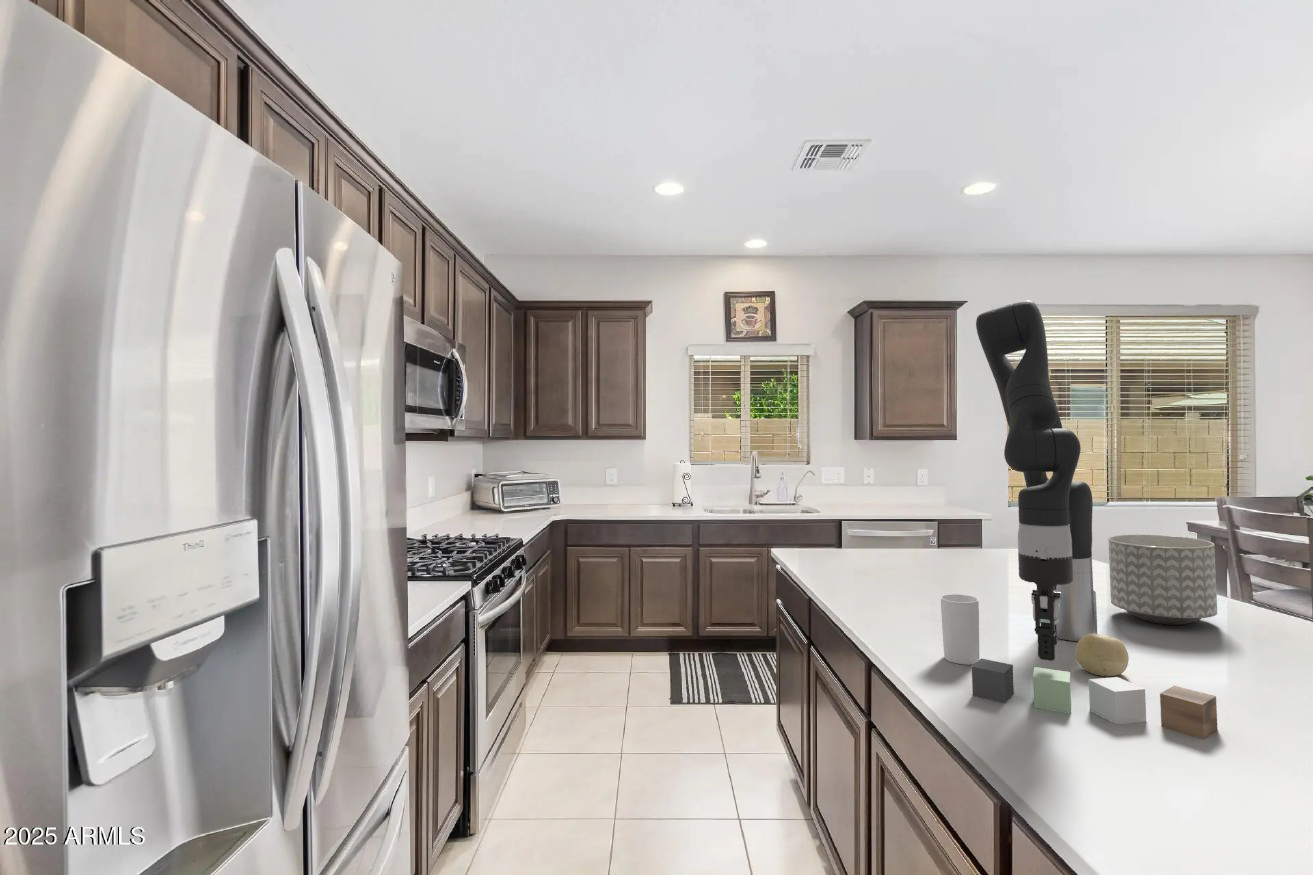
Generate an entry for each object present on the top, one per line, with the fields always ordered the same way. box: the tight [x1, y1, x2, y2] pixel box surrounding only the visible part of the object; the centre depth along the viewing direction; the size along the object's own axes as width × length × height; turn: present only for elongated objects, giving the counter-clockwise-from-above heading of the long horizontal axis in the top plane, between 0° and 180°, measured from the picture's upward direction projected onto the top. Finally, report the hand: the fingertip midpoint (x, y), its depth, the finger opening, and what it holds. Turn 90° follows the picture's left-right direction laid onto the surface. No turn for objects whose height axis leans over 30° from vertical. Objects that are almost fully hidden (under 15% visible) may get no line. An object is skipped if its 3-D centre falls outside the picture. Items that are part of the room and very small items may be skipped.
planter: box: [1107, 534, 1218, 626], centre depth 145 cm, size 19×19×18 cm
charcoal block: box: [971, 658, 1015, 704], centre depth 107 cm, size 5×5×5 cm
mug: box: [940, 593, 980, 666], centre depth 125 cm, size 10×7×12 cm, turn 137°
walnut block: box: [1159, 685, 1218, 740], centre depth 93 cm, size 5×5×5 cm
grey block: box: [1088, 676, 1147, 725], centre depth 98 cm, size 5×5×5 cm
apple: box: [1075, 633, 1129, 677], centre depth 115 cm, size 8×8×8 cm
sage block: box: [1032, 666, 1072, 715], centre depth 103 cm, size 5×5×5 cm
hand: (1047, 651), depth 103 cm, fingers open, 8 cm apart
